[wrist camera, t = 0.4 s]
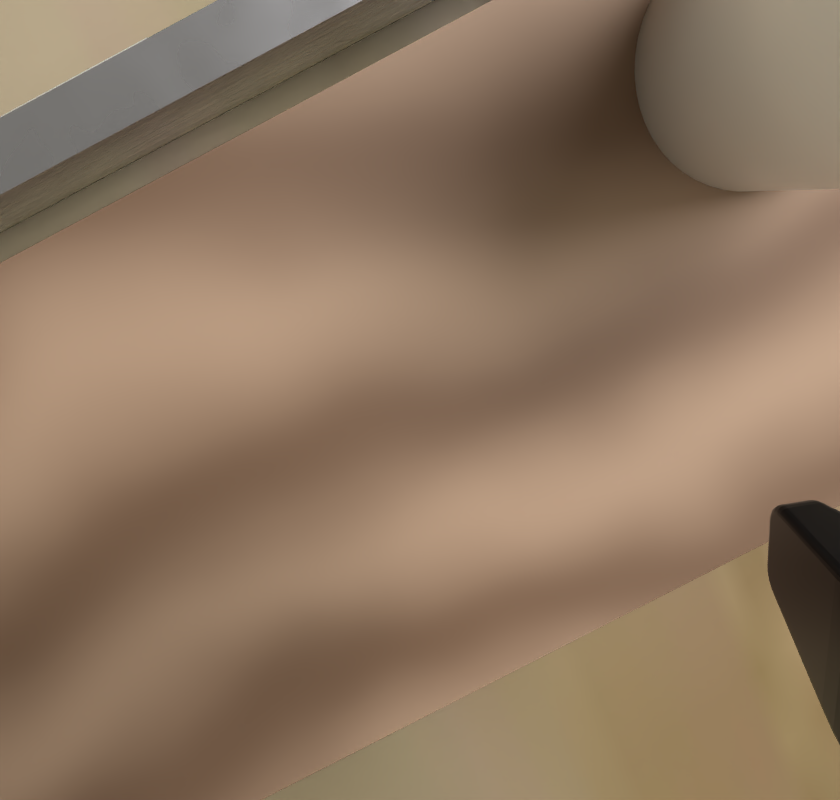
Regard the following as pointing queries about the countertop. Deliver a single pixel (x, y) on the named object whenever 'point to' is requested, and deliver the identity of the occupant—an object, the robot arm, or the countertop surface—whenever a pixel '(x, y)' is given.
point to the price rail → (169, 90)
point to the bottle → (744, 90)
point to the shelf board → (389, 411)
